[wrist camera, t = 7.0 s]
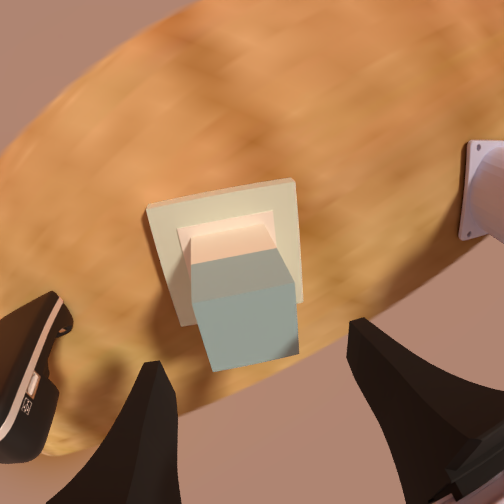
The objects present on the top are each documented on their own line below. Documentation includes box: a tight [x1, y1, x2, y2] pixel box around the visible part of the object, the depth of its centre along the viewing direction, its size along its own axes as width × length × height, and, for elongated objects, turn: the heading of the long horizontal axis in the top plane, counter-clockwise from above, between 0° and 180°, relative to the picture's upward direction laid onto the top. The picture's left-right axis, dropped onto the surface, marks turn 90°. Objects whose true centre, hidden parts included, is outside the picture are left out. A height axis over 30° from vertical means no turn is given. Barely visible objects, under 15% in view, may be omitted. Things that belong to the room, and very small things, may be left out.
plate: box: [146, 178, 303, 327], centre depth 19 cm, size 8×8×1 cm
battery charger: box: [0, 291, 73, 464], centre depth 14 cm, size 7×4×11 cm, turn 112°
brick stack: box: [191, 224, 299, 372], centre depth 16 cm, size 4×4×6 cm
